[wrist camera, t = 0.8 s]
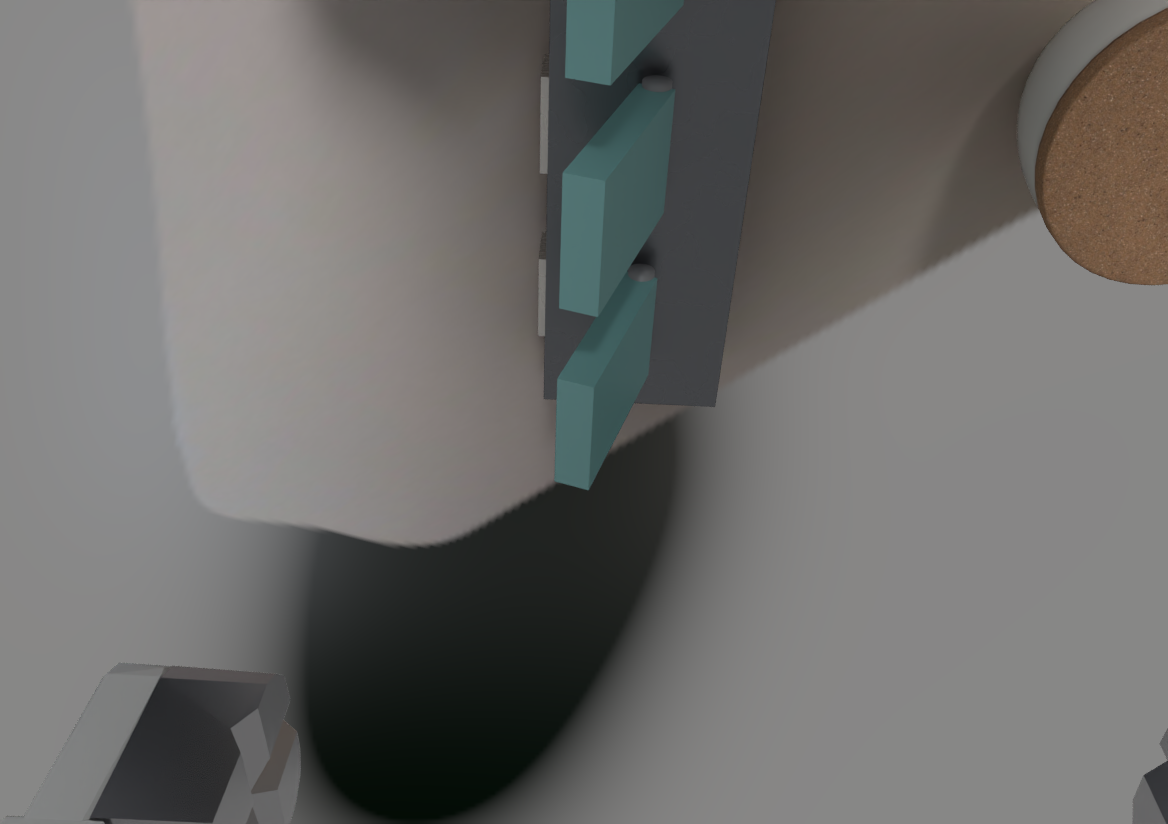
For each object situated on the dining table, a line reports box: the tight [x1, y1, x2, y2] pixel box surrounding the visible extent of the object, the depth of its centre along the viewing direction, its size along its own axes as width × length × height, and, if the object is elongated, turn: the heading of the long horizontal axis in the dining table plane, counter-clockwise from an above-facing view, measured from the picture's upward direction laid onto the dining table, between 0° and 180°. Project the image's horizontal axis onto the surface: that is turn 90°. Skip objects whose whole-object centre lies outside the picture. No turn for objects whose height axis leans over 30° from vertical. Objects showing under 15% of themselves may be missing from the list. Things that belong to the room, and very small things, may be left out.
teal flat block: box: [555, 264, 657, 490], centre depth 42 cm, size 5×1×8 cm, turn 178°
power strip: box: [538, 0, 776, 407], centre depth 41 cm, size 27×8×4 cm, turn 178°
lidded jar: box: [1017, 0, 1168, 285], centre depth 38 cm, size 11×11×9 cm
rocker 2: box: [559, 75, 675, 317], centre depth 37 cm, size 5×1×8 cm, turn 178°
